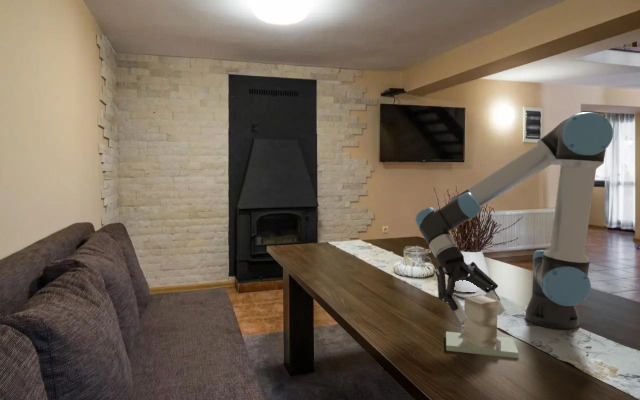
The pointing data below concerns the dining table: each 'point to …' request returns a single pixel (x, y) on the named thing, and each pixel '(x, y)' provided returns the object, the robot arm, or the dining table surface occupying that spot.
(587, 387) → the dining table surface
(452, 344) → the peg board
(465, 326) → the tan block
